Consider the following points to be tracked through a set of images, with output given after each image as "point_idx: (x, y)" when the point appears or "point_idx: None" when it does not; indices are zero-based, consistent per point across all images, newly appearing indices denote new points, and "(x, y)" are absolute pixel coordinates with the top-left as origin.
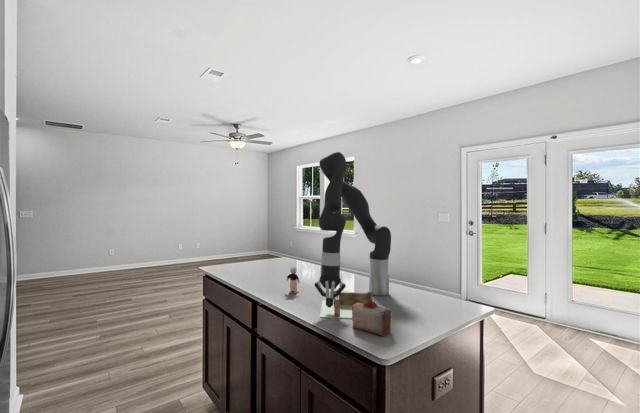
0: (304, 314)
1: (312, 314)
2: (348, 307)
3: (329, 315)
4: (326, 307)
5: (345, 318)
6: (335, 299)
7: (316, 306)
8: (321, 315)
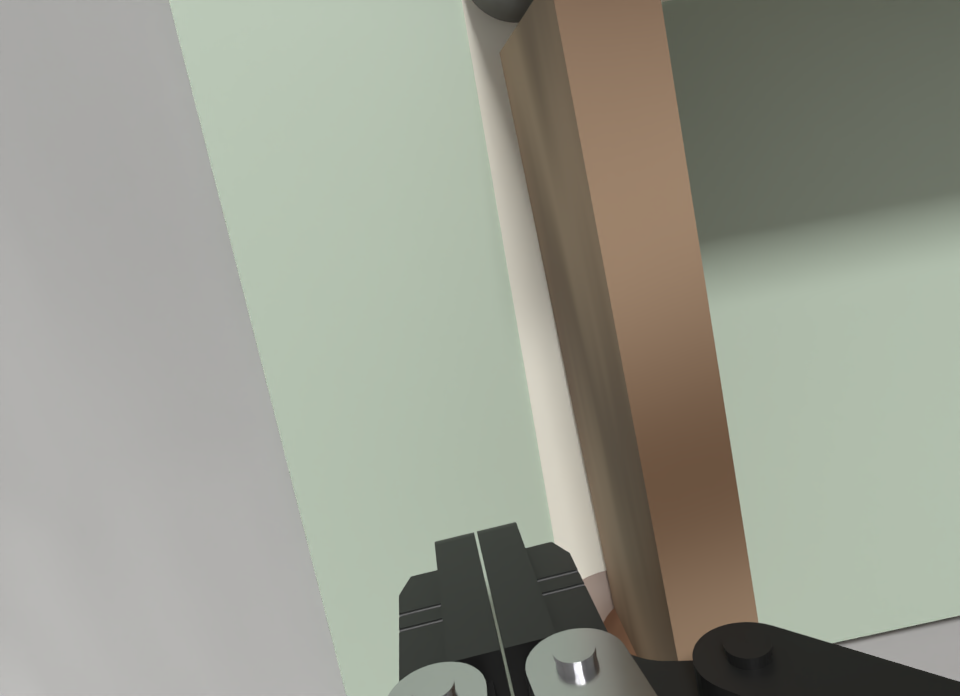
0: (36, 664)
1: (181, 622)
2: (816, 86)
3: None
4: (347, 221)
5: None
6: (679, 658)
7: (88, 138)
8: (370, 683)
